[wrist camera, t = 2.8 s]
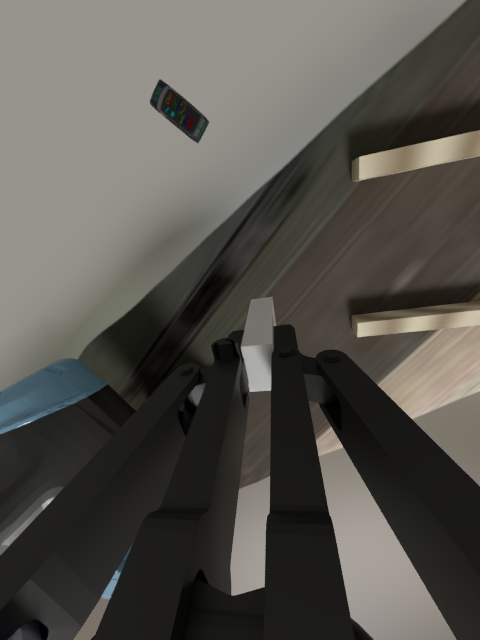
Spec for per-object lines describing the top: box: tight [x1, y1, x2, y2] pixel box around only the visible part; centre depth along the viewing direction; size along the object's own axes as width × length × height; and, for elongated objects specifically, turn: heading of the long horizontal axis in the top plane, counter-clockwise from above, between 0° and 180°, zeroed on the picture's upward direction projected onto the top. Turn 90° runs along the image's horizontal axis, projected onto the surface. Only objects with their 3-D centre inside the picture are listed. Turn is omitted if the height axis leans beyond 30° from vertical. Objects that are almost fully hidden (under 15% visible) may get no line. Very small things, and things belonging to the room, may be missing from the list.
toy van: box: [150, 79, 209, 143], centre depth 106 cm, size 11×25×10 cm, turn 54°
